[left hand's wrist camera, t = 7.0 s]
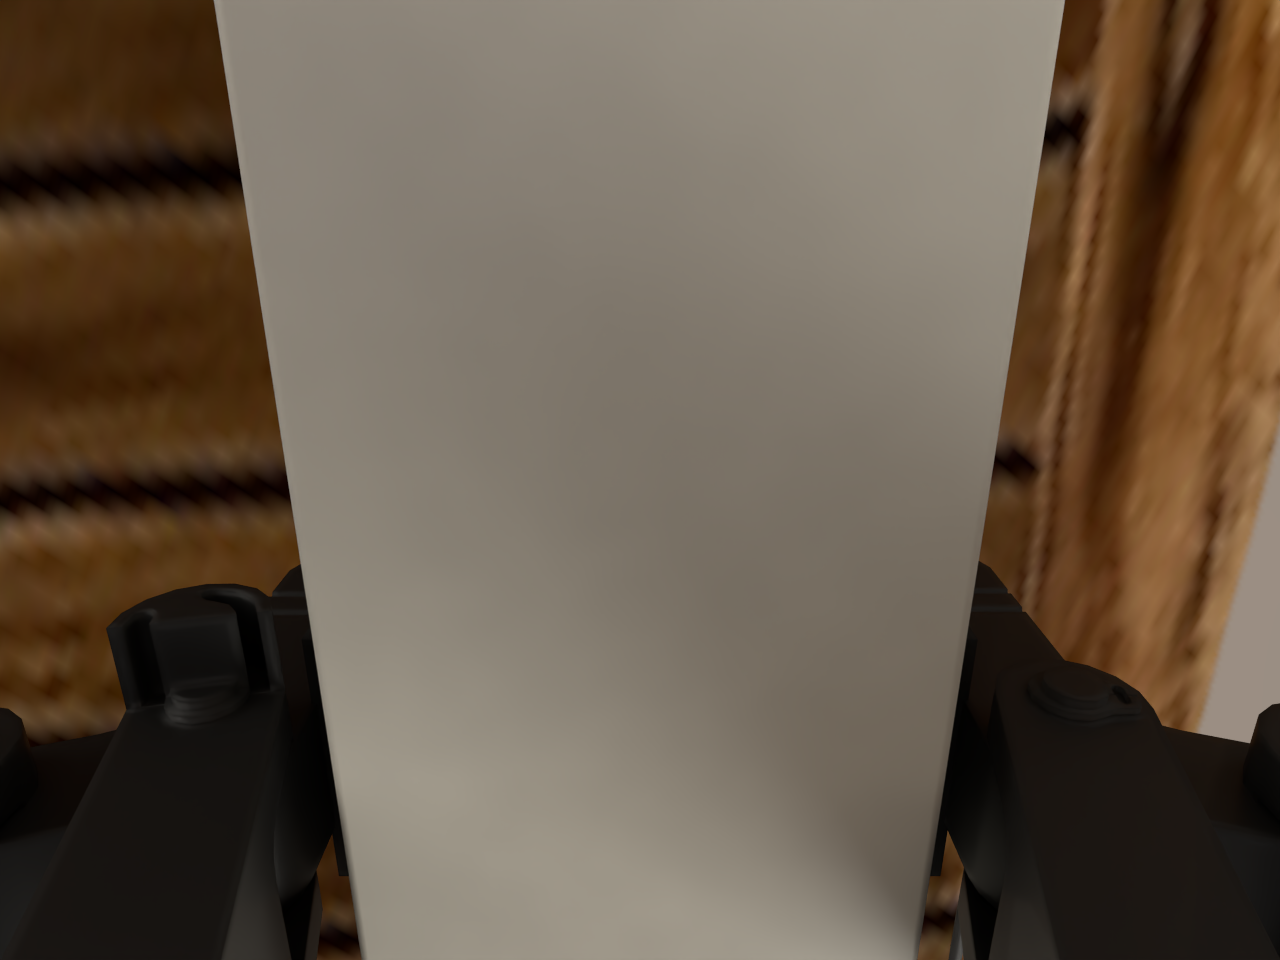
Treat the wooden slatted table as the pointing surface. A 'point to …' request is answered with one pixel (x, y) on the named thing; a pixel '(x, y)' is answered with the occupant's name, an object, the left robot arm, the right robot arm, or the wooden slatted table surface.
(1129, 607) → the wooden slatted table surface
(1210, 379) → the wooden slatted table surface
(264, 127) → the bar
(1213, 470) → the wooden slatted table surface
